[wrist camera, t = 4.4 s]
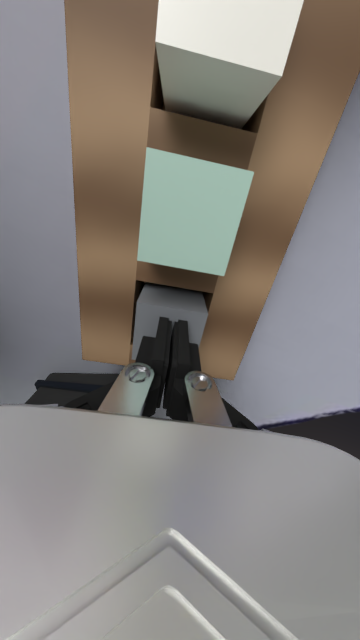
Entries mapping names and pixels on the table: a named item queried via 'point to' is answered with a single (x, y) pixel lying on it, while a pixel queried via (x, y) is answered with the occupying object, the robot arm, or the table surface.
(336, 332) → the table surface
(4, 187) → the table surface
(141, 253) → the key sage
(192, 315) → the grey block
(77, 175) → the brown wooden block holder
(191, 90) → the key ivory
